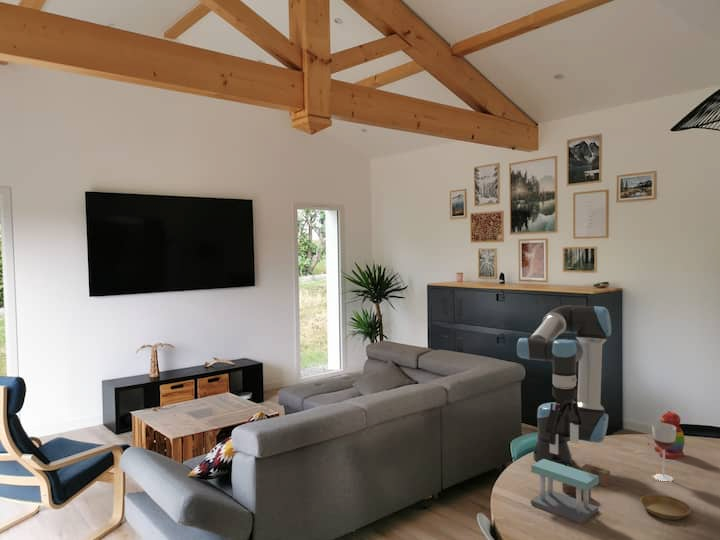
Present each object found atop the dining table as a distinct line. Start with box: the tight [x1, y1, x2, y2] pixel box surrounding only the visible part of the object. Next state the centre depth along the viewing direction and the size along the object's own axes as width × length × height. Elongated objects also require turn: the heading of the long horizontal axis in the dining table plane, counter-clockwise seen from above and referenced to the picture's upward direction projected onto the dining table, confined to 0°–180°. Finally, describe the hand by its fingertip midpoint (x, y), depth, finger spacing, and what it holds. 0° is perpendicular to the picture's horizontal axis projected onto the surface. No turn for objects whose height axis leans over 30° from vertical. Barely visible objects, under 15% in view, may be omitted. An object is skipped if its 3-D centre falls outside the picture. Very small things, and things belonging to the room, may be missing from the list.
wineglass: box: [651, 422, 676, 483], centre depth 206 cm, size 8×9×20 cm
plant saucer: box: [639, 494, 692, 521], centre depth 181 cm, size 15×15×3 cm
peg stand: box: [530, 475, 599, 525], centre depth 185 cm, size 18×12×10 cm, turn 41°
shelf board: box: [530, 459, 599, 491], centre depth 184 cm, size 20×8×2 cm, turn 41°
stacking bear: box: [654, 410, 686, 459], centre depth 229 cm, size 11×10×18 cm
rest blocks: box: [562, 463, 611, 499], centre depth 200 cm, size 9×18×5 cm, turn 131°
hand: (564, 447), depth 184 cm, fingers open, 13 cm apart
